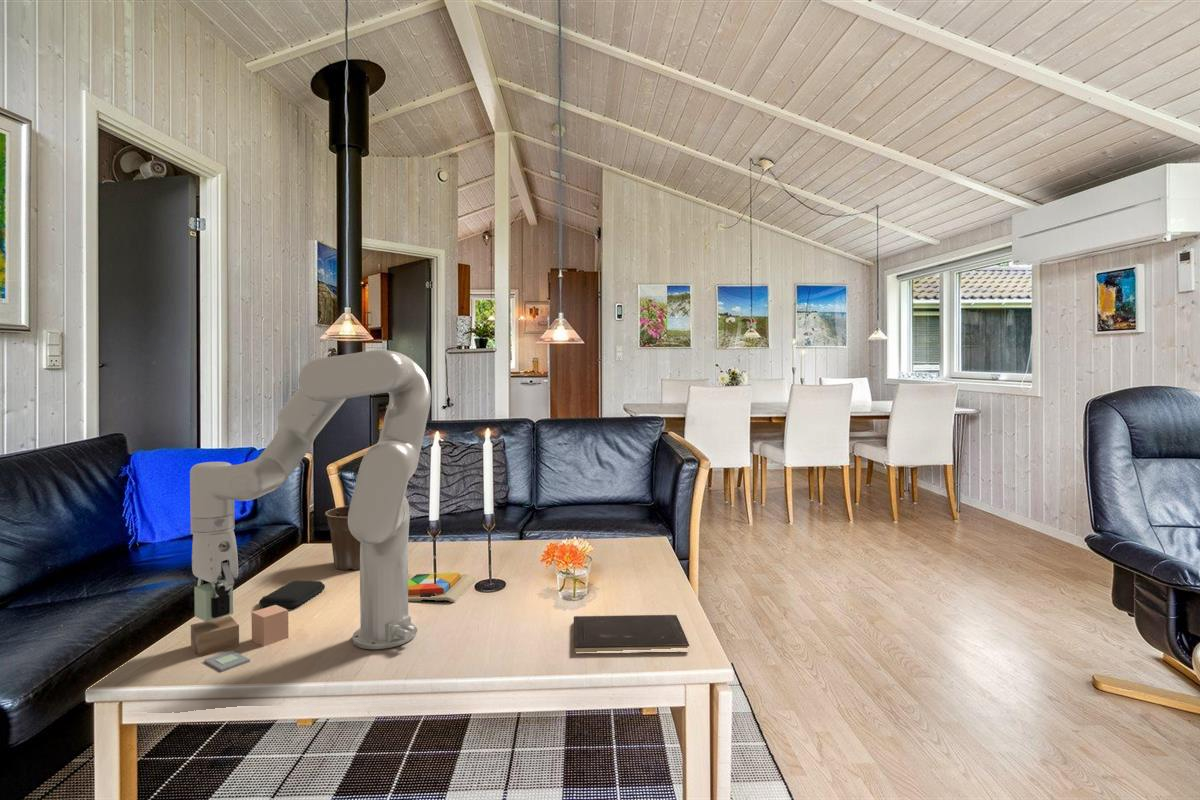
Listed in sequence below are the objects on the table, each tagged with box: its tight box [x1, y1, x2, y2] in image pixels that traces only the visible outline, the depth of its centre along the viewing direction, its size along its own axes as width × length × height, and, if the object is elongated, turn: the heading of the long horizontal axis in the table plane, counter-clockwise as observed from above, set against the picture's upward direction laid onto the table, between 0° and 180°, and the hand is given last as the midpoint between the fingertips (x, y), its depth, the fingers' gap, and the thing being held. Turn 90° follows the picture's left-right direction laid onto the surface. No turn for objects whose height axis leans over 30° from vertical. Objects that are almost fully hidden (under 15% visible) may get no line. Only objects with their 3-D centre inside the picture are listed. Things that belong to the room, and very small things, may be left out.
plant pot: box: [324, 505, 361, 571], centre depth 178 cm, size 16×16×16 cm
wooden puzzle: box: [408, 572, 476, 603], centre depth 157 cm, size 18×19×4 cm
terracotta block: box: [251, 605, 290, 647], centre depth 127 cm, size 5×5×6 cm
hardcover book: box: [573, 614, 690, 653], centre depth 128 cm, size 16×23×2 cm
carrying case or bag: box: [258, 580, 326, 610], centre depth 150 cm, size 11×3×15 cm
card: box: [203, 649, 251, 672], centre depth 116 cm, size 7×5×1 cm
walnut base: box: [190, 615, 240, 658], centre depth 123 cm, size 7×7×4 cm
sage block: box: [193, 579, 234, 622], centre depth 123 cm, size 5×5×6 cm
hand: (213, 611), depth 123 cm, fingers closed on sage block, 4 cm apart
